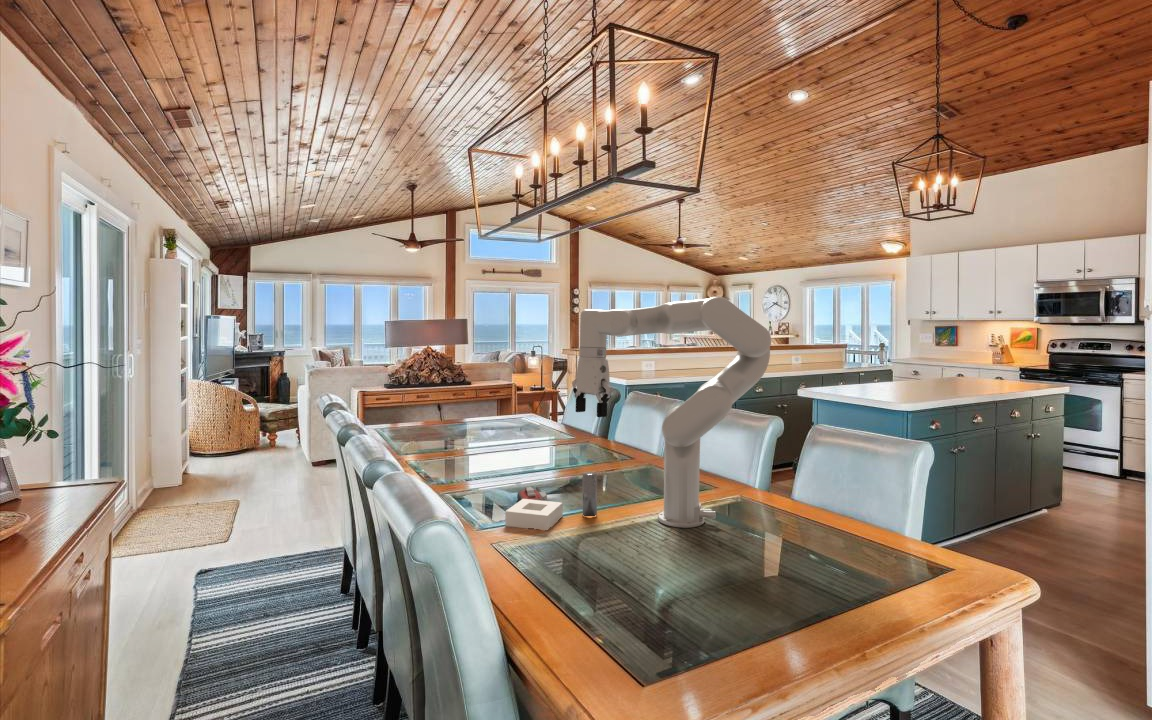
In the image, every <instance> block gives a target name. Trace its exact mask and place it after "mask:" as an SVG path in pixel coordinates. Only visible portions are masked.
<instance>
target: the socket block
mask: <svg viewBox="0 0 1152 720" xmlns="http://www.w3.org/2000/svg"><path fill="white" fill-rule="evenodd" d="M563 505H564V504H563V502H558V501H550V500H547V501H541V500H531V499H522V500H520V501H518V502H515V504H513V505H512V506H510V507H509V508H507V509H506V510H505V512H504V514H505V515H504V516H505V517H504V518H505V520H504V522H505V525H504V526H505V527H511V528H521V529H528V528H534V529H533V530H536V529H541V530H540V531H545V530H548V529H549V528H550V527H551V528H552V527H554V526H555V524H557V522H559V521H560V520H561V519H562V518H563V517H564V515H563V513H564V512H563V511H564V510H563V508H564V507H563ZM562 516H563V517H562ZM561 517H562V518H561ZM560 518H561V519H560ZM559 519H560V520H559ZM558 520H559V521H558ZM551 528H550V529H551ZM550 529H549V530H550ZM549 530H548V531H549Z"/></svg>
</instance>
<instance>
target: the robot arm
mask: <svg viewBox="0 0 1152 720" xmlns="http://www.w3.org/2000/svg"><path fill="white" fill-rule="evenodd" d="M579 321H580V322H579V349H578V350H579V351H578V352H579V353H578V355H579V356H578V361H577V368H576V379H574V380H573V381H572V382H571V386H572V391H573V394H574V399H575V412H576V413H584V412H586V407H587V406H586V405H587V404H586V403H587V400H586V399H587V398H586V397H585V396H586V395H591V396H596V399H597V400H598V402H597V403H596V417H597V418H605V417H607V416H608V403H609V402H610V399H611V398H612V393H613V391H614V388H613V386H612V385H611V384H610V383H611V382H610V381H611V380H610V368H609V367H610V365H609V361H608V359H607V343H608V342H607V341H608V340H607V339H608V338H607V337H608V336H612V337H617V338H618V337H627V336H629V337H630V336H639V335H640V336H641V335H649V334H651V335H652V334H664V335H665V334H668V335H671V334H680V333H681V334H682V333H695V332H705V331H712V332H713V333H714V334H715V335H717V336H718V337H720V338H721V339H722V340H723V341H725V342H726V343H727V344H729V345H730V346H731V347H733V348H734V349H735V350H737V354H736V356H735V357H734V359H732V361H730V363H728V364H727V365H725V367H724V368H723V369H722V370H720V371H719V372H718V373H717V374H716V375H714V376H713V377H712V378H711V379H709V380H708V381H706V382H705V383H703V384H701V385H700V386H699V387H698V389H697V390H696V392H694V394H692V395H691V396H690V397H688V398H687V399H686V400H685V401H684V402H682V403H681V404H680V405H677V406H674V407H673V408H671V409H669V411H668V412H667V413H666V415H665V417H664V418H663V422H662V426H661V433H662V436H663V438H664V455H663V456H664V459H663V460H664V461H663V462H664V463H663V467H664V468H663V511H660V512H659V513H658V514H657V520H658V521H659V522H660V523H661V524H663V525H666V526H667V527H668V526H669V527H674V528H681V529H683V528H685V529H686V528H687V529H689V528H696V527H699V526H702V525H703V524H704V523H705V522H706V521H705V518H708V519H716V515H717V514H716V511H715V510H713V509H712V508H703V507H702V503H701V502H700V462H701V458H700V457H701V438H702V437H703V436H705V434H707V433H708V432H709V431H710V430H712V429H713V428H714V427H716V426H717V425H718V424H719V423H721V422H722V421H723V420H724V419H725V418H726V417H727V416H728V415H729V413H730V412H731V411H732V407H733V404H735V402H737V401H738V400H739V399H741V397H742V396H744V395H745V394H746V393H747V392H748V391H749V390H750V389H752V388H753V387H754V386H755V385H756V384H758V382H759V381H760V380H761V379H762V377H763V376H764V374H765V372H766V371H767V370H768V369H767V368H768V365H769V362H770V359H771V358H770V357H771V344H772V336H771V334H770V332H769V330H768V329H767V328H766V327H765V326H763V325H762V324H761V323H760V322H758V321H757V320H755V319H754V318H752V316H750V315H748V314H747V313H746V312H744V311H743V310H742V309H740V308H739V307H738V306H736V305H735V304H734V303H733V302H731V301H730V300H729V299H727V298H726V297H724V296H712V297H709V298H700V299H691V300H690V299H688V300H681V301H680V300H679V301H671V302H666V303H663V304H660V305H656V306H651V307H643V308H633V309H632V308H631V309H624V308H623V309H622V308H615V309H610V310H604V309H594V308H593V309H592V308H589V309H588V308H585V309H583V310H581V312H580V320H579Z"/></svg>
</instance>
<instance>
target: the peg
mask: <svg viewBox="0 0 1152 720" xmlns="http://www.w3.org/2000/svg"><path fill="white" fill-rule="evenodd" d="M597 493H598V474H597V472H594V471H593V472H592V471H587V472H583V473H582V516H583V515H584V516H595V515H597V516H598V494H597Z"/></svg>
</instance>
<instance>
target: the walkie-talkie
mask: <svg viewBox="0 0 1152 720" xmlns="http://www.w3.org/2000/svg"><path fill="white" fill-rule="evenodd" d="M516 497H517V500H518V502H519V501H520V500H522V499H531V500H541V501H548V495H547V493H546V491H542V490H541V488H540V487H539V486H536V487H535V489H534V488H533V487H532V486H528V487H524V490H519V491H518V492H517V494H516Z"/></svg>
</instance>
